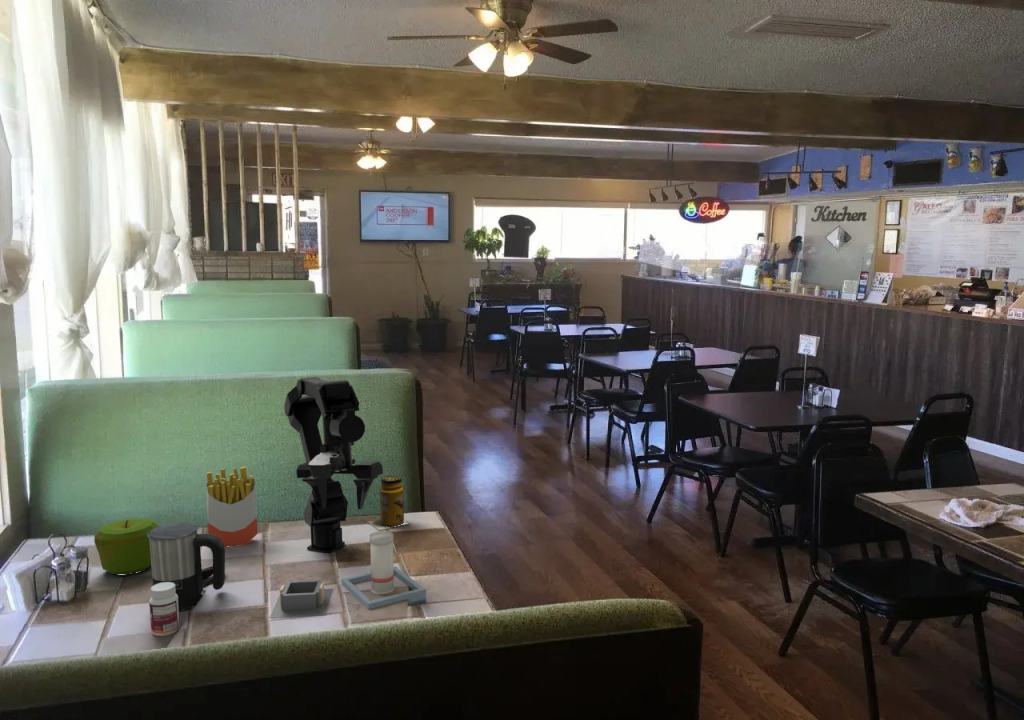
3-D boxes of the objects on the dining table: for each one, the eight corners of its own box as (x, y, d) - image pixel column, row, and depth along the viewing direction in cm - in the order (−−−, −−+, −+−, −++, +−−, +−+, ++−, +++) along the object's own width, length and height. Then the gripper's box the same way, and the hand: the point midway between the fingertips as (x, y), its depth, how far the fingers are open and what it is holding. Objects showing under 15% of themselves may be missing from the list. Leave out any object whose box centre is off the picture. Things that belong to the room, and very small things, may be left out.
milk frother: (152, 617, 145) (147, 541, 143) (150, 586, 159) (145, 517, 157) (231, 602, 151) (228, 529, 149) (223, 574, 165) (219, 507, 163)
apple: (156, 555, 177) (153, 507, 175) (165, 572, 166) (162, 521, 165) (94, 567, 170) (90, 517, 168) (100, 585, 160) (96, 533, 158)
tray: (341, 591, 156) (341, 579, 156) (395, 577, 163) (395, 566, 162) (368, 616, 144) (368, 604, 144) (425, 601, 151) (425, 589, 151)
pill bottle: (156, 625, 142) (154, 581, 141) (183, 624, 142) (181, 580, 141) (146, 637, 137) (144, 592, 136) (174, 636, 137) (171, 591, 136)
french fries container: (258, 544, 183) (254, 470, 181) (209, 549, 180) (205, 474, 178) (257, 537, 188) (254, 465, 185) (209, 543, 184) (205, 469, 182)
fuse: (367, 591, 154) (366, 533, 153) (388, 586, 157) (387, 529, 155) (376, 600, 150) (375, 540, 149) (398, 594, 153) (397, 536, 151)
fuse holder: (282, 598, 153) (281, 575, 152) (333, 595, 154) (332, 573, 153) (269, 625, 141) (268, 601, 140) (325, 622, 142) (324, 598, 141)
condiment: (410, 524, 197) (409, 478, 195) (379, 531, 192) (378, 484, 191) (398, 517, 203) (396, 472, 202) (367, 523, 198) (366, 477, 197)
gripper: (278, 444, 164) (283, 516, 165) (355, 443, 158) (360, 518, 159) (308, 436, 175) (313, 504, 175) (381, 435, 169) (386, 506, 169)
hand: (341, 508), depth 169 cm, fingers open, 9 cm apart
